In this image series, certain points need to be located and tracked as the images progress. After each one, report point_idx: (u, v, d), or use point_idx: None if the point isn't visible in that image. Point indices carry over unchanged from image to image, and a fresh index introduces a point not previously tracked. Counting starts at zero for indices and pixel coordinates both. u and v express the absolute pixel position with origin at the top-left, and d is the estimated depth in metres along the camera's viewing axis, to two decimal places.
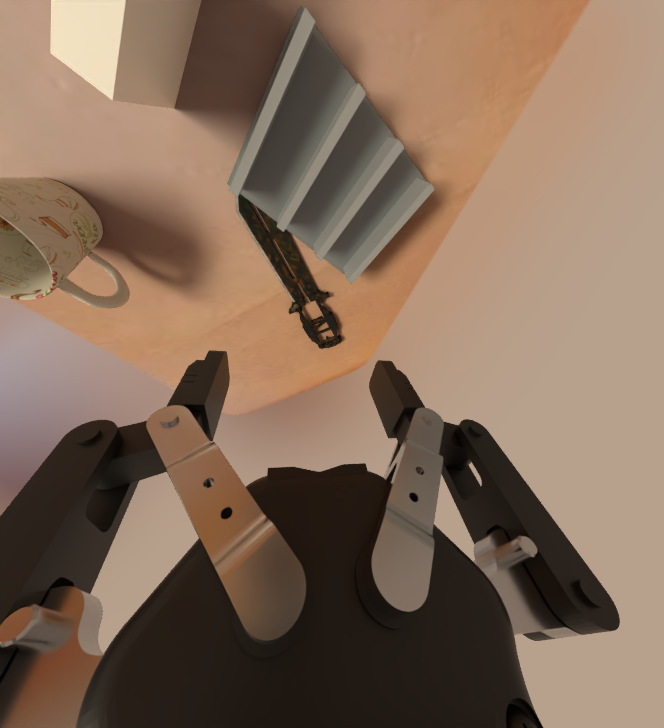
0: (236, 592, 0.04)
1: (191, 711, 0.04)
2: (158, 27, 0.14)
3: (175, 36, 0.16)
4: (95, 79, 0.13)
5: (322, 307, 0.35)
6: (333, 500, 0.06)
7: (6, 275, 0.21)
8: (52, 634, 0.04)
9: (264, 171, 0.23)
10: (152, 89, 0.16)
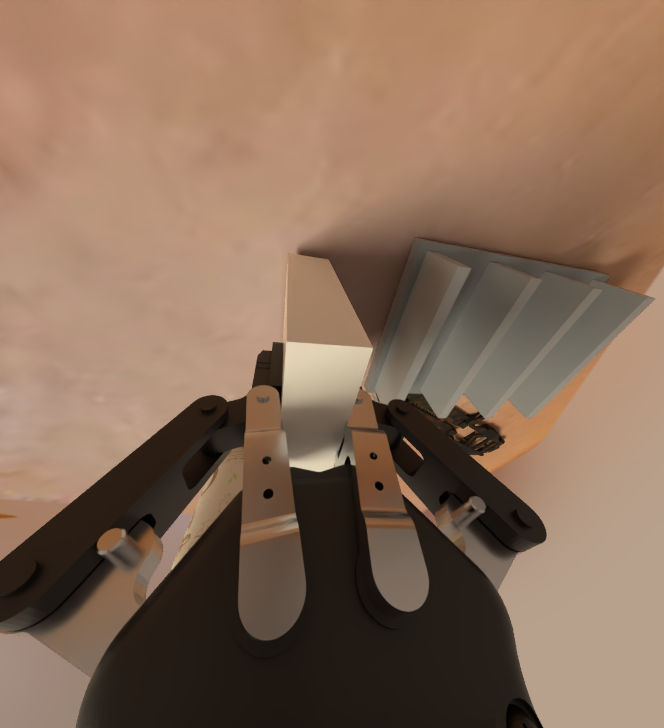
0: (245, 567, 0.04)
1: (191, 711, 0.04)
2: None
3: None
4: None
5: (478, 428, 0.29)
6: (333, 500, 0.06)
7: None
8: (124, 560, 0.05)
9: None
10: None
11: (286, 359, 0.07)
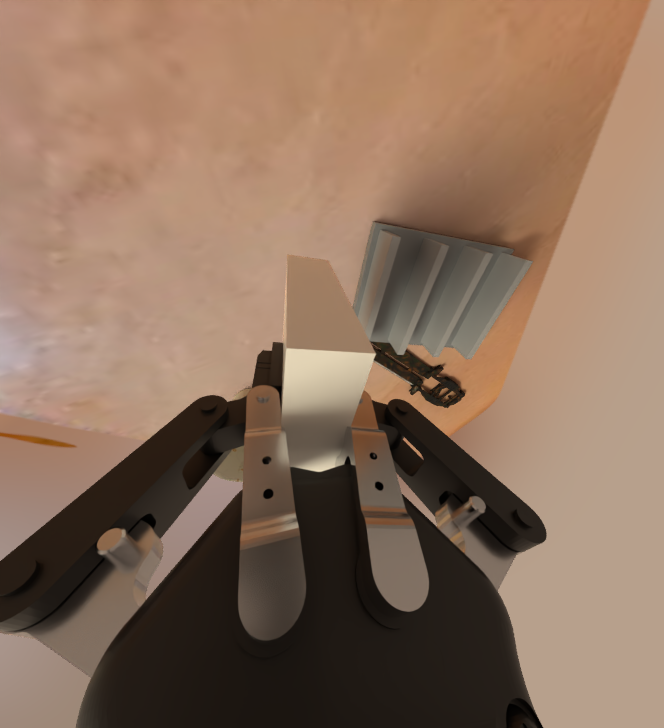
0: (245, 568, 0.04)
1: (191, 711, 0.04)
2: None
3: None
4: None
5: (439, 378, 0.37)
6: (333, 500, 0.06)
7: None
8: (124, 560, 0.05)
9: None
10: None
11: (286, 366, 0.06)
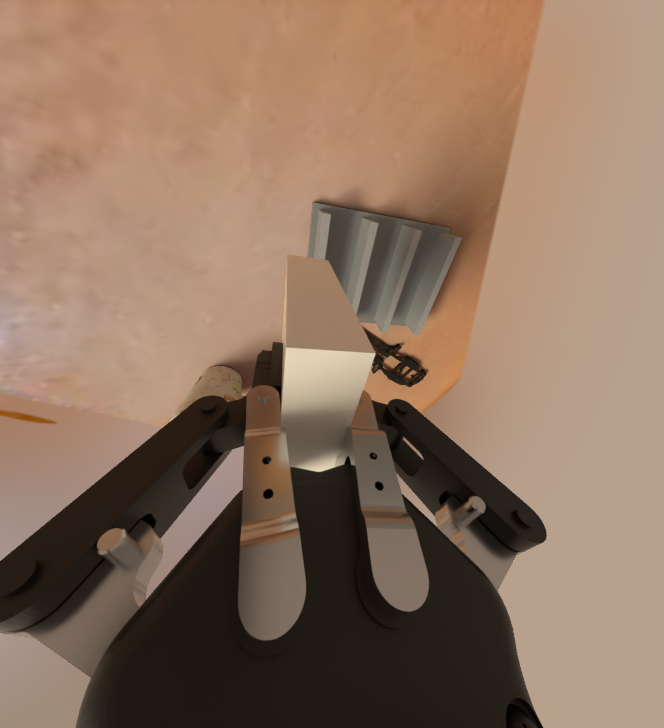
0: (245, 568, 0.04)
1: (191, 711, 0.04)
2: None
3: None
4: None
5: (398, 357, 0.39)
6: (333, 500, 0.06)
7: None
8: (124, 560, 0.05)
9: None
10: None
11: (286, 365, 0.06)
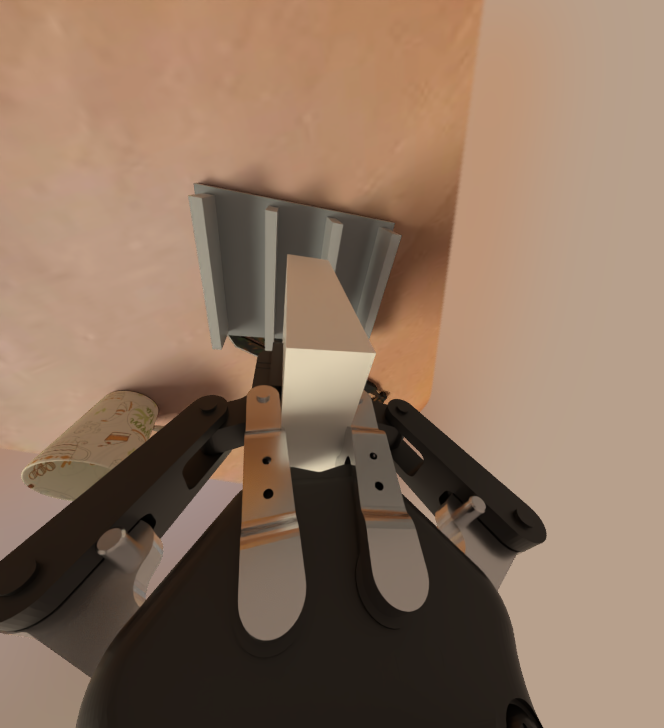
0: (245, 568, 0.04)
1: (191, 711, 0.04)
2: None
3: None
4: None
5: None
6: (333, 500, 0.06)
7: None
8: (125, 560, 0.05)
9: (236, 309, 0.24)
10: None
11: (286, 366, 0.06)
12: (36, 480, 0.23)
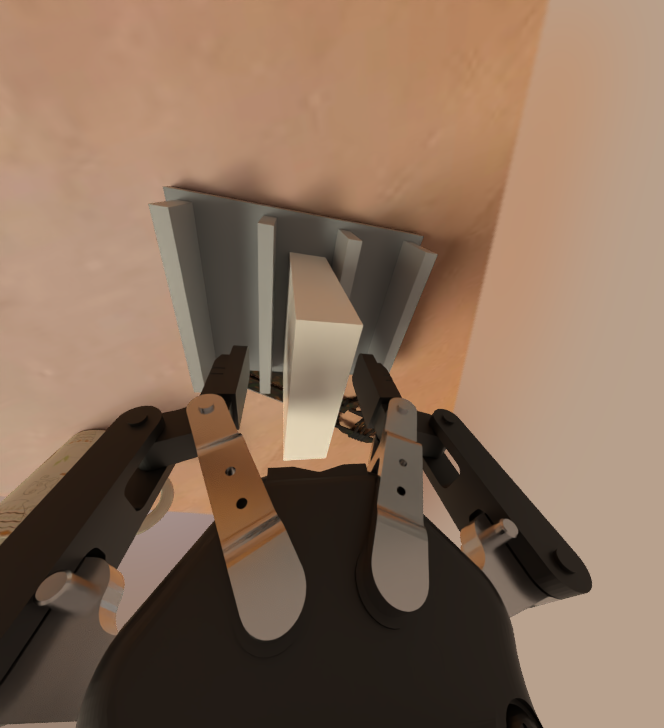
0: (238, 583, 0.04)
1: (191, 711, 0.04)
2: None
3: None
4: (313, 455, 0.14)
5: (360, 412, 0.28)
6: (333, 500, 0.06)
7: None
8: (78, 602, 0.05)
9: (225, 340, 0.19)
10: None
11: (295, 334, 0.08)
12: None
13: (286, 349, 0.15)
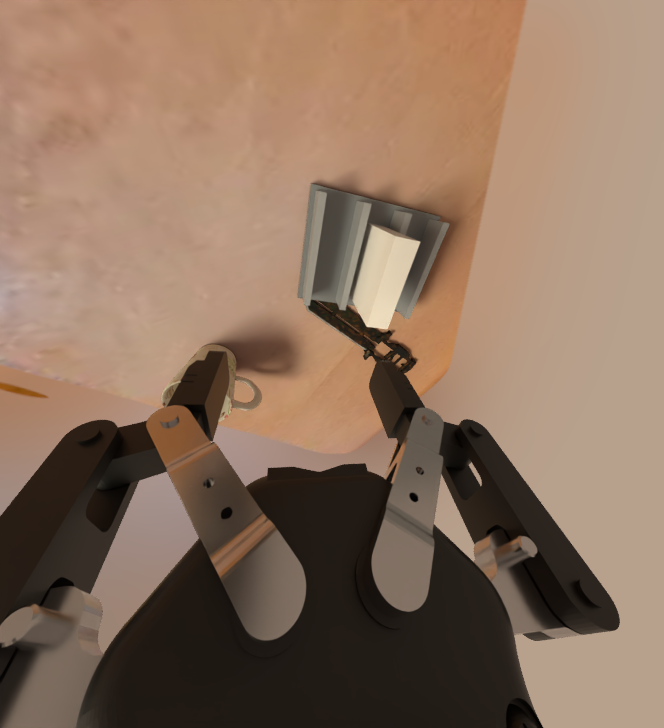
0: (236, 592, 0.04)
1: (191, 711, 0.04)
2: None
3: None
4: (381, 325, 0.26)
5: (389, 344, 0.40)
6: (333, 500, 0.06)
7: None
8: (51, 634, 0.04)
9: (318, 278, 0.32)
10: None
11: (393, 243, 0.21)
12: (166, 400, 0.30)
13: (365, 273, 0.27)
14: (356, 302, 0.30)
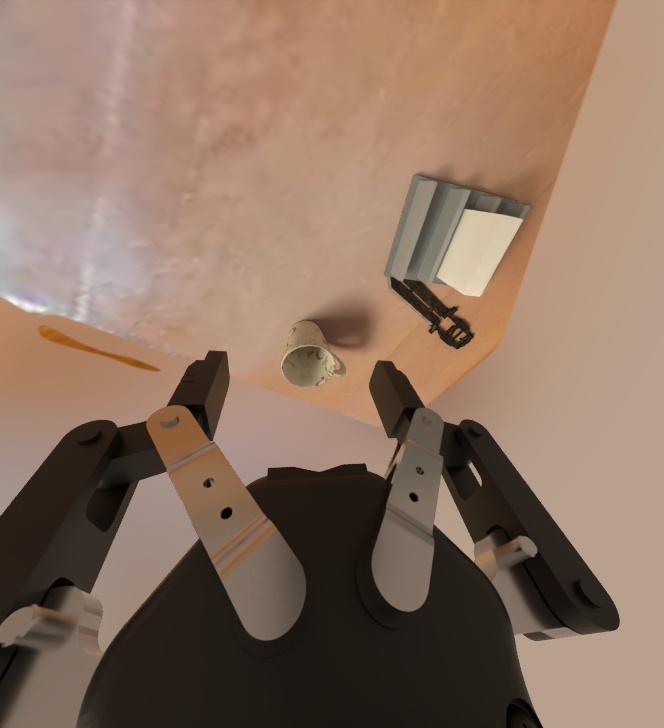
0: (236, 592, 0.04)
1: (191, 711, 0.04)
2: None
3: None
4: (476, 293, 0.31)
5: (454, 318, 0.45)
6: (333, 500, 0.06)
7: (305, 376, 0.40)
8: (51, 634, 0.04)
9: None
10: None
11: (502, 221, 0.26)
12: (283, 365, 0.35)
13: (457, 250, 0.32)
14: (443, 277, 0.35)
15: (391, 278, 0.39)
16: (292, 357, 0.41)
